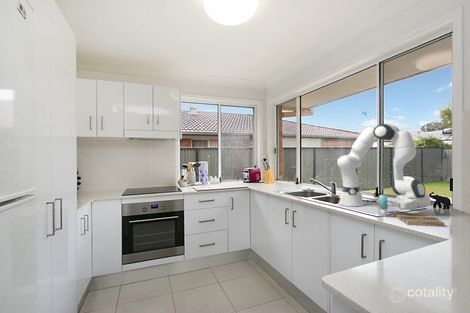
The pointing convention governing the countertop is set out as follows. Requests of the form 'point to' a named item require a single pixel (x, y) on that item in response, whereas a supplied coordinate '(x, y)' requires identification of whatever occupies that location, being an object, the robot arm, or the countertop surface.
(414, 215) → the board
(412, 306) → the countertop surface
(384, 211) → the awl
